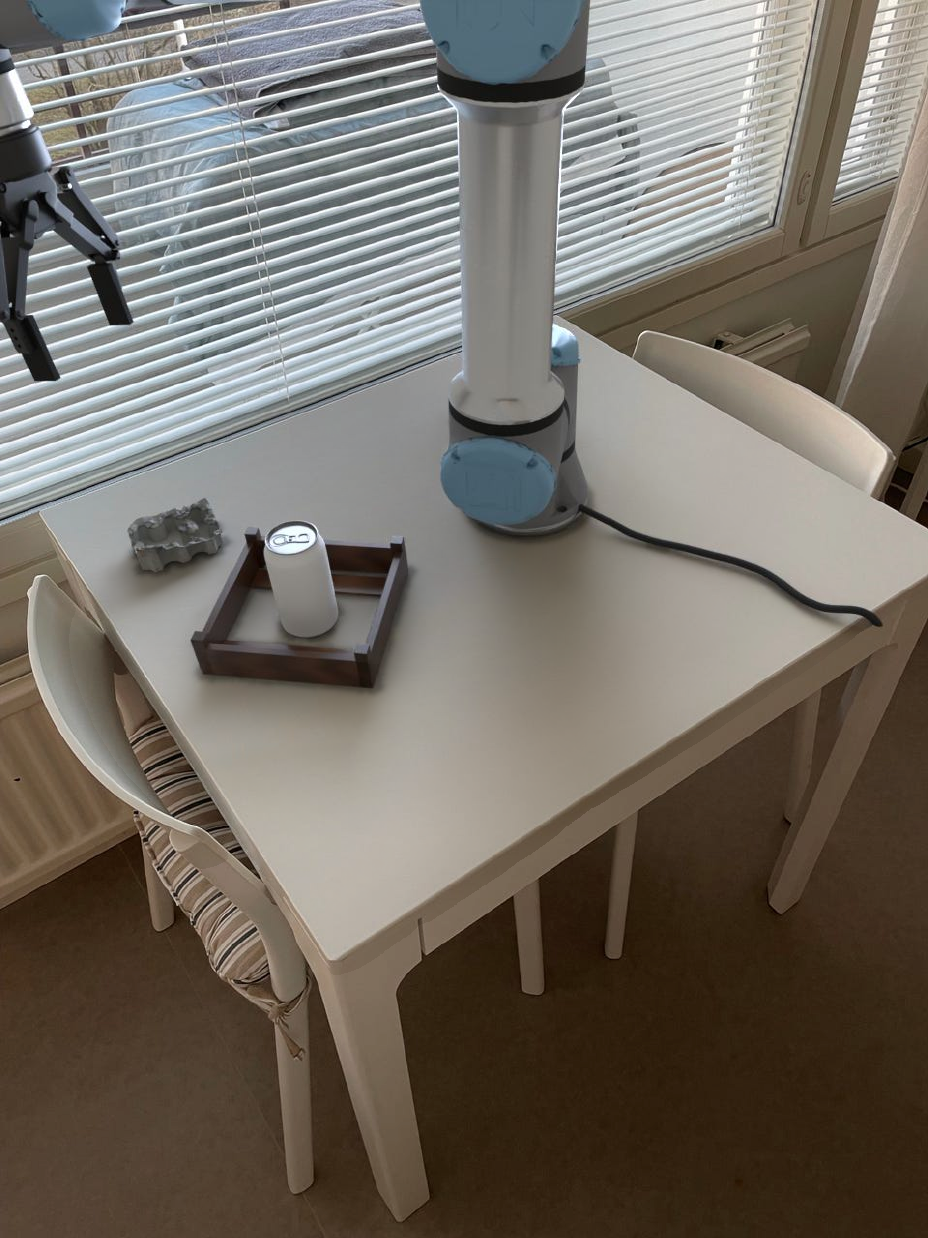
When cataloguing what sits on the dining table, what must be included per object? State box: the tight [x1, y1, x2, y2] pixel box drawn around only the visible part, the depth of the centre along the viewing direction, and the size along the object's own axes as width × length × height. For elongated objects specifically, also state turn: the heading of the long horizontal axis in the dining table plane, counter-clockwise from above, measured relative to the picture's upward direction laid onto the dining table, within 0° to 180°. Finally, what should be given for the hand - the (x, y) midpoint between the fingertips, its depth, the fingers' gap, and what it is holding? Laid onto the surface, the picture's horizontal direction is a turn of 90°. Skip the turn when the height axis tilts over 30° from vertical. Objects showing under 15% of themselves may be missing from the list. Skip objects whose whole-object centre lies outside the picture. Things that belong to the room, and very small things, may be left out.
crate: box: [190, 526, 409, 689], centre depth 103 cm, size 19×19×5 cm
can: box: [264, 519, 339, 639], centre depth 101 cm, size 6×6×12 cm
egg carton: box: [126, 497, 224, 573], centre depth 114 cm, size 11×8×4 cm
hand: (86, 350), depth 98 cm, fingers open, 13 cm apart
